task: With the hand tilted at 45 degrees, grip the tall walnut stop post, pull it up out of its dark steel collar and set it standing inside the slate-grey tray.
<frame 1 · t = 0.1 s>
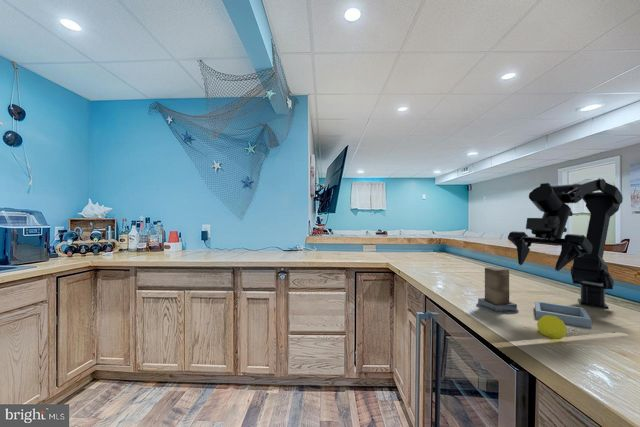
hand: (537, 267, 78), 15 cm above the worktop, tool tilted 35°, fingers open, 9 cm apart
lemon: (551, 338, 66), on the worktop
stop post: (496, 307, 85), point 1 cm above the worktop, touching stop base
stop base: (496, 311, 85), on the worktop
tray: (560, 320, 78), on the worktop
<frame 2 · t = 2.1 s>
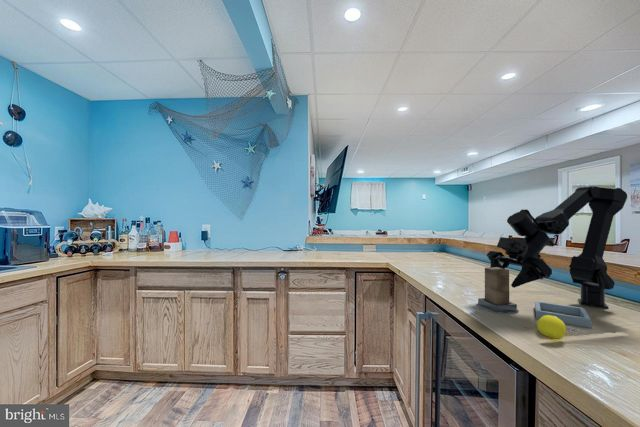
hand: (499, 282, 85), 9 cm above the worktop, tool tilted 45°, fingers open, 9 cm apart
nothing on the worktop moved.
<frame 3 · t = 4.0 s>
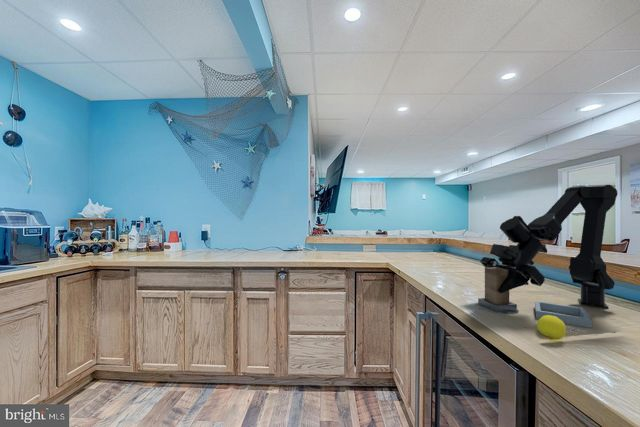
hand: (492, 289, 85), 7 cm above the worktop, tool tilted 45°, fingers closed on stop post, 4 cm apart
stop post: (496, 307, 85), point 1 cm above the worktop, touching gripper, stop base
everything else where it was.
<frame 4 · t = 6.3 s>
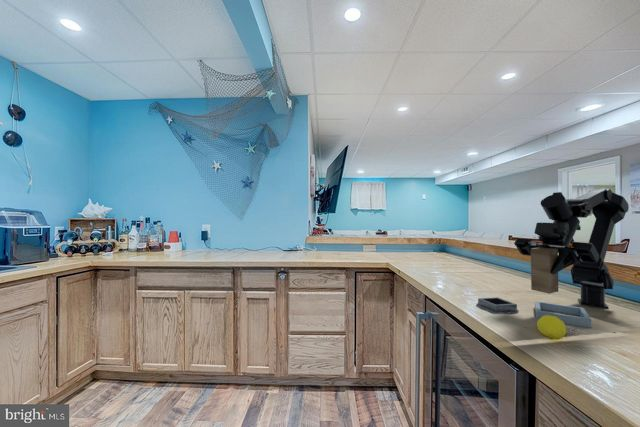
hand: (541, 271, 78), 13 cm above the worktop, tool tilted 45°, fingers closed on stop post, 4 cm apart
stop post: (544, 290, 79), point 8 cm above the worktop, touching gripper
everything else where it was.
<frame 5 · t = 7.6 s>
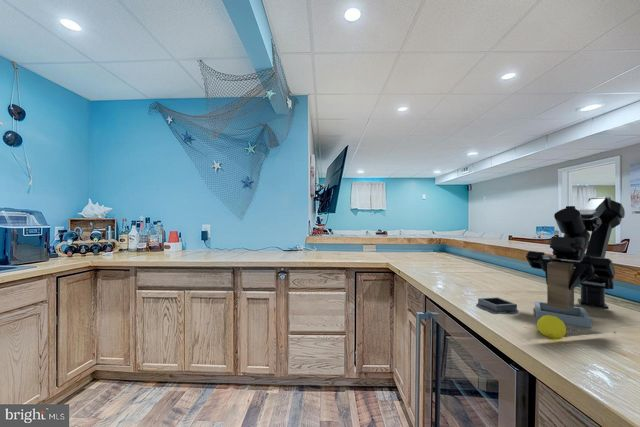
hand: (558, 287, 77), 9 cm above the worktop, tool tilted 45°, fingers closed on stop post, 4 cm apart
stop post: (560, 306, 78), point 4 cm above the worktop, touching gripper
everything else where it was.
when the fingers open (8 cm above the worktop, at t = 8.7 s): stop post drops 2 cm, resting on tray.
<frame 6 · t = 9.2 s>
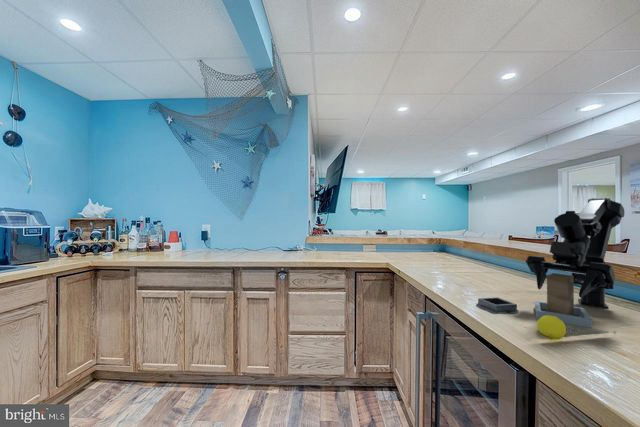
hand: (558, 292, 77), 8 cm above the worktop, tool tilted 45°, fingers open, 9 cm apart
stop post: (560, 317, 78), point 1 cm above the worktop, touching tray
everything else where it was.
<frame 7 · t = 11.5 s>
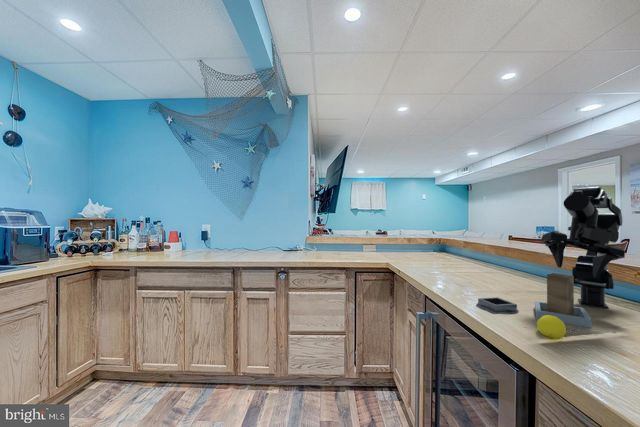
hand: (577, 272, 82), 12 cm above the worktop, tool tilted 25°, fingers open, 9 cm apart
nothing on the worktop moved.
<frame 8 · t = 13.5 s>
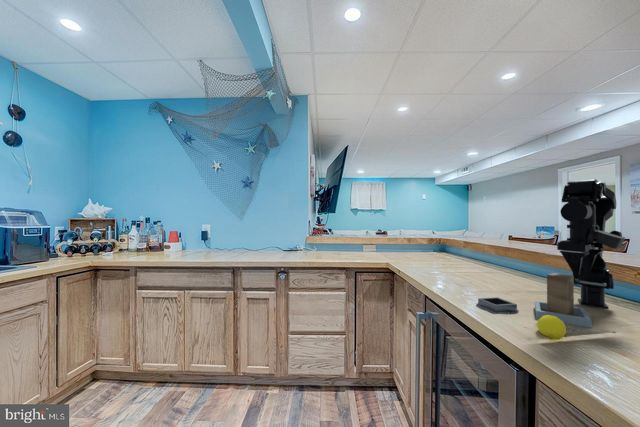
hand: (582, 273, 83), 12 cm above the worktop, tool pointing down, fingers open, 9 cm apart
nothing on the worktop moved.
at the end: stop post 0.0 cm off-centre on the tray, point 0.6 cm above the tray's base; stop post tilted 0°; the gripper is holding nothing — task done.
